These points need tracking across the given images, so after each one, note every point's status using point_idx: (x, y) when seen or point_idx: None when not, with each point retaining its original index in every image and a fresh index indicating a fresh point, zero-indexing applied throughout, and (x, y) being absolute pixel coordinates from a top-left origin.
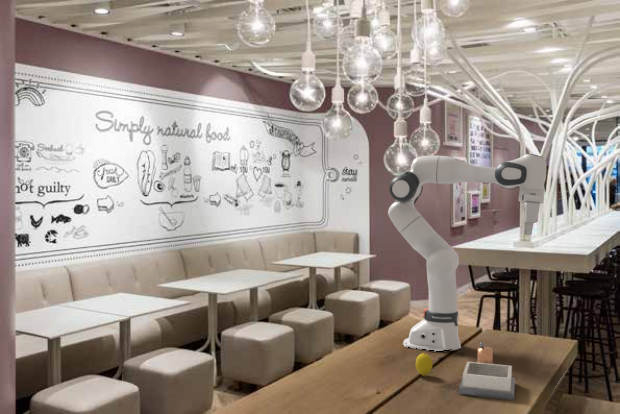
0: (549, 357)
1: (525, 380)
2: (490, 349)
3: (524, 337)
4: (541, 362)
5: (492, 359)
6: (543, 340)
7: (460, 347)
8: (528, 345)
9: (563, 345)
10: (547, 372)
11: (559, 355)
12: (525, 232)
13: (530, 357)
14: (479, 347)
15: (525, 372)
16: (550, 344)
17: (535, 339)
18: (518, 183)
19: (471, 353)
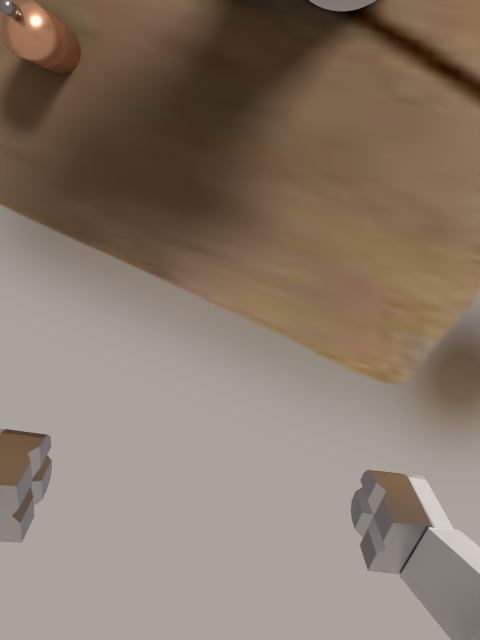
0: (229, 280)
1: (4, 156)
2: (13, 46)
3: (446, 269)
4: (178, 245)
5: (35, 63)
6: (406, 314)
7: (317, 4)
8: (352, 257)
9: (350, 350)
10: (89, 235)
11: (250, 311)
12: (378, 495)
13: (224, 228)
14: (30, 5)
15: (76, 175)
16: (361, 320)
17: (419, 295)
18: None
19: (254, 40)
